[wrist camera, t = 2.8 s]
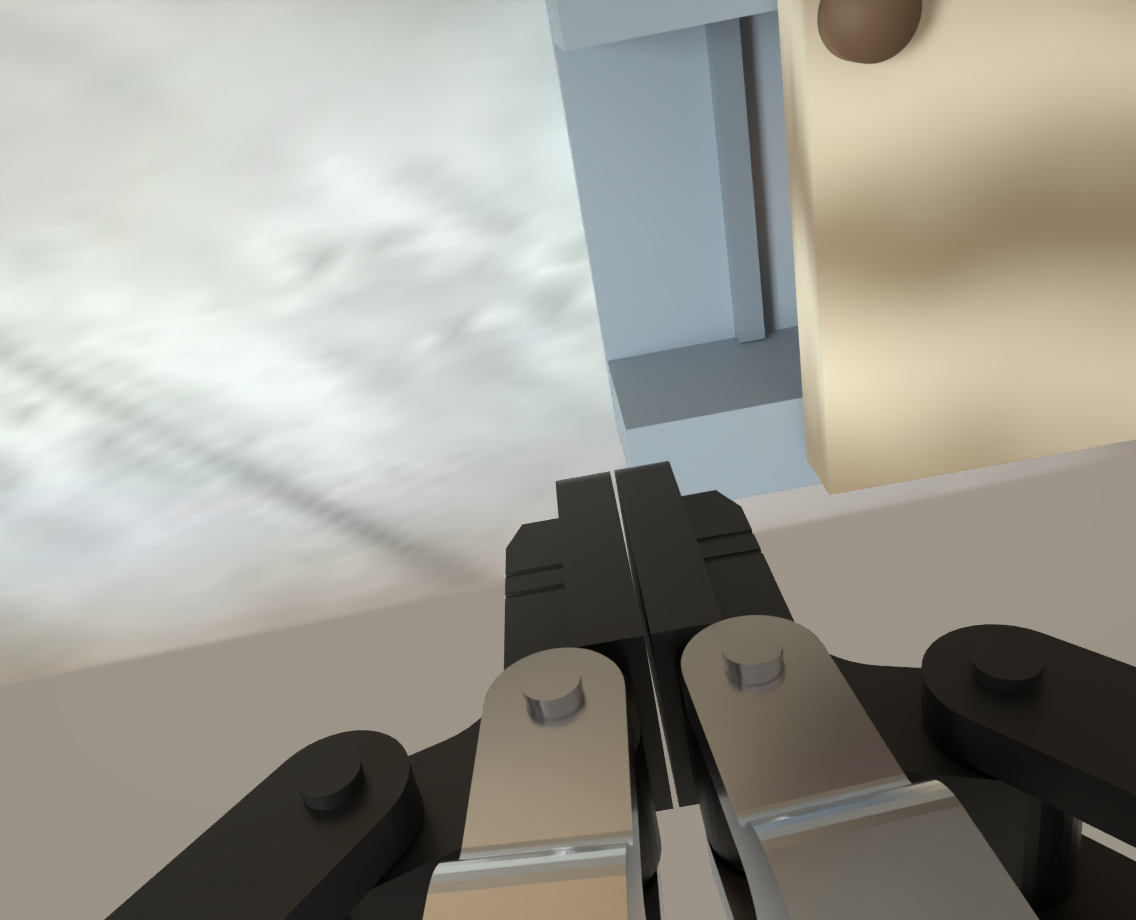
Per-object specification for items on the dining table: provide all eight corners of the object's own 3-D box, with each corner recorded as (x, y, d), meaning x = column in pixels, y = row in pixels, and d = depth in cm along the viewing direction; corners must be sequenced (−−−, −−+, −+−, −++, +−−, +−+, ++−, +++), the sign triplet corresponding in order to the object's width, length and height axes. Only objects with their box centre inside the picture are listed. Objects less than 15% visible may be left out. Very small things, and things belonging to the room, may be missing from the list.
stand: (535, -67, 25) (543, -95, 18) (1533, -266, 24) (1919, -370, 18) (616, 424, 32) (644, 534, 25) (1401, 280, 31) (1645, 354, 24)
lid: (772, -81, 19) (811, -95, 17) (1223, -171, 19) (1332, -198, 16) (806, 460, 25) (839, 510, 22) (1152, 397, 25) (1225, 440, 22)
